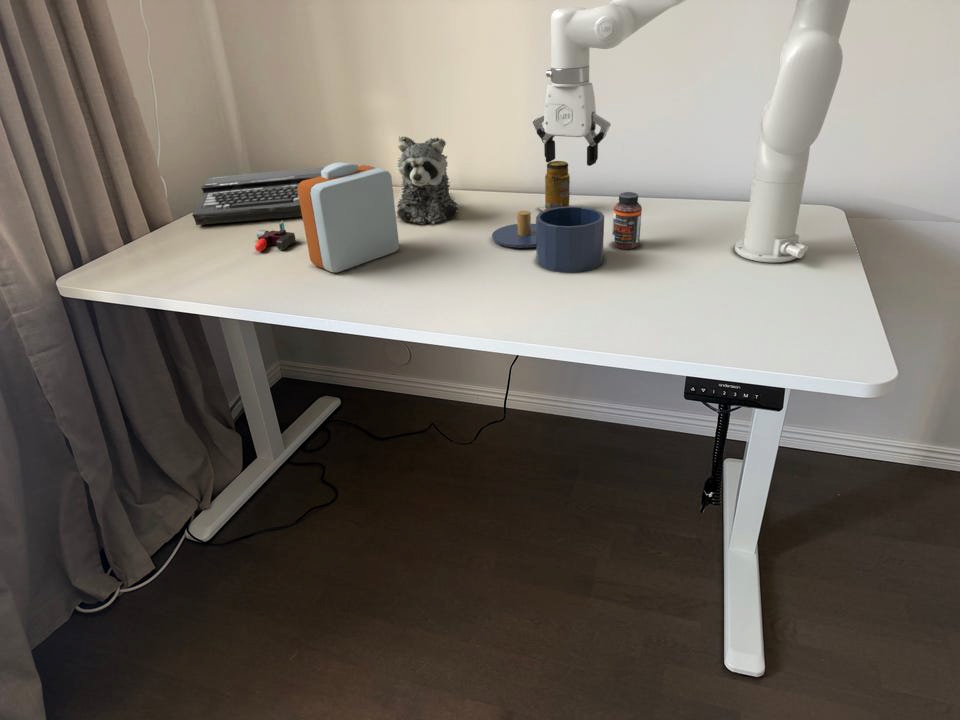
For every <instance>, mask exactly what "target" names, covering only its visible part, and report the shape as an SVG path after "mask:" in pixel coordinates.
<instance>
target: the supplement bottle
mask: <svg viewBox="0 0 960 720" xmlns="http://www.w3.org/2000/svg"><path fill="white" fill-rule="evenodd" d="M642 211H643V207H642V204H640V203H639V194H638V193H636V192H632V191H624V192H620V193H619V194H618V202H617V203H615V205H614V206H613V212H612V213H613V214H612V232H611V233H612V235H611V244H612V246H613V247H615V248H617V249H621V250H631V249H635V248H637V247H639V245H640V240H641V225H642Z"/></svg>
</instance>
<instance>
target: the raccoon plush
mask: <svg viewBox="0 0 960 720" xmlns="http://www.w3.org/2000/svg"><path fill="white" fill-rule="evenodd" d="M446 145H447V142H446V140H445V139H443V138H439V136H436V137H433V138H432V137H430V138H429V139H427V140H425V142H415V140H413V139H412V138H410V137H408V136H398V144H397V148H398V149H399V151H400V152H401V155H400V157H398V160H397V163H396V164H397V168H398V170H397V171H398V172H399V174H400V175H401V179H402V181H401V186H402V188H401V194H400V195H401V196H400V197H401V198H400V199H398V201H397V206H396V207H397V210H396V214H397V215H396V216H397V217H398V218H399V219H400V220H401V221H402V222H405V223H407V222H408V223H414V224H416V225H421V226H422V225H425V224H426V223H427V224H432V225H435V224H436V223H442V222H443V221H446V220H452V219H454V218H456V214H457V212H458V211H459V208H458V205H459V204H458V203H457V202H456V201H455V200H454V199H452V196H451V195H450V194H451V193H450V187H451V185H450V184H451V182H449V180H450V178H449V175H448V174H447V170H448V169H447V167H448V165H449V163H448V162H449V161H447V159H448V155H445V154H443V153H444V149H445V146H446Z"/></svg>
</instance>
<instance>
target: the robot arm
mask: <svg viewBox="0 0 960 720" xmlns="http://www.w3.org/2000/svg"><path fill="white" fill-rule="evenodd" d="M685 1H686V0H611V1H610V2H608V3H606V4H604V5H601V6H597V7H592V8H586V7H581V6H576V7H575V6H574V7H573V6H572V7H561V8H558V9H555V10H554V11H553V12H552V13H551V16H550V48H551V49H550V50H551V51H550V53H551V55H550V56H551V59H550V60H551V67H550V69H547V70H546V73H545V75H546V77H547V78H550V82H551V83H548V84H547V86H546V87H547V88H546V93H545V101H544V113H543V114H542V115H540V116H539V117H537V118H535V119H533V120H532V124H533V126H534V129H535V131H536V134H537V136H538V137H539V138H540V139H541V142H542V143H543V147H544V148H543V149H544V151H543V152H544V158H545V163H549V162H552V161H555V160H556V141H555V139H554V138H555V137H565V138H566V137H569V138H583V137H584V139H585V140H586V141H587V143H588V146H586V166H588V167H592V166H593V165H595V164H596V163H597V161H598V158H599V144H600V143H601V141H603V140H604V139H605V138H606V136H607V133H608V132H609V130H610V128H611V125H612V124H611V122H610V121H608V120H606V119H605V118H603V117H601V116H600V115H598V114H597V109H596V97H595V92H594V91H595V90H594V86H593V82H590V51H591V50H590V49H598V50H599V49H600V50H601V49H602V50H611V49H614V48H616V47H618V46H619V45H620V44H622V43H623V42H624V41H626V39H628V38H629V37H631V36H632V35H633V34H635V33H636V32H638V31H639V30H640V29H642V28H643V27H645V26H646V25H647V24H649V23H650V22H652V21H653V20H655V19H656V18H657V17H659V16H661V15H662V14H663V13H665V12H667V11H668V10H670V9H671V8H674V7H676V6H678V5H680V4H682V3H684V2H685ZM850 3H851V0H796V4H795V7H794V11H793V12H794V13H793V15H792V19H791V23H790V26H789V29H788V32H787V36H786V39H785V41H784V43H783V47H782V48H781V51H780V55H779V68H780V70H779V73H778V77H777V80H776V83H775V88H774V90H773V94H772V97H771V98H770V99H769V100H768V101H767V102H766V103H765V105H764V107H763V109H762V111H761V113H760V118H759V125H758V134H757V143H756V144H757V145H756V154H755V161H754V168H753V176H752V182H751V189H750V194H749V195H750V196H749V202H748V210H747V217H746V224H745V230H744V238H742V239H740V240H738V241H737V242H736V243H735V245H734V251H735V253H736V254H737V255H739V256H740V257H742V258H745V259H748V260H751V261H755V262H759V263H760V262H762V263H785V262H786V263H787V262H791V261H794V260H796V259H797V258H798V259H802V258H803V257H804V255H805V253H806V252H807V251H808V248H809V247H808V245H805V244H803V243H800V242H799V241H800V235H799V234H797V233H796V231H797V227H798V226H797V225H798V221H799V214H800V208H801V202H802V197H803V191H804V187H805V186H804V184H805V180H806V175H807V171H808V164H809V158H810V151H811V146H812V145H813V144H814V143H815V141H816V140H817V139H818V137H819V135H820V133H821V131H822V128H823V125H824V122H825V119H826V117H827V115H828V111H829V109H830V105H831V102H832V99H833V96H834V94H835V91H836V88H837V84H838V81H839V78H840V74H841V71H842V65H843V58H844V57H843V50H842V46H841V44H840V37H841V34H842V31H843V27H844V24H845V21H846V17H847V13H848V10H849V5H850ZM597 126H598V127H600V130H599V132H598V133H596V132H595V131H596V128H597Z"/></svg>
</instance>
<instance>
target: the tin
mask: <svg viewBox="0 0 960 720" xmlns="http://www.w3.org/2000/svg"><path fill="white" fill-rule="evenodd" d="M535 224H536V246H535V248H536V249H535V250H536V253H535V255H536V262H537V265H539V266H540V267H541V268H543V269H545V270H548V271H551V272H557V273H580V272H587V271H590V270H593V269H595V268H598V267H599V266H600V265H601V264H602V263H603V257H604V236H605V234H604V233H605V215H604V214H603V212H602V211H600V210H597V209H596V208H590V207H585V206H572V205H569V206H568V207H557V208H552V209H547V210H545V211H540V212H539V213H537V215H536V216H535Z"/></svg>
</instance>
